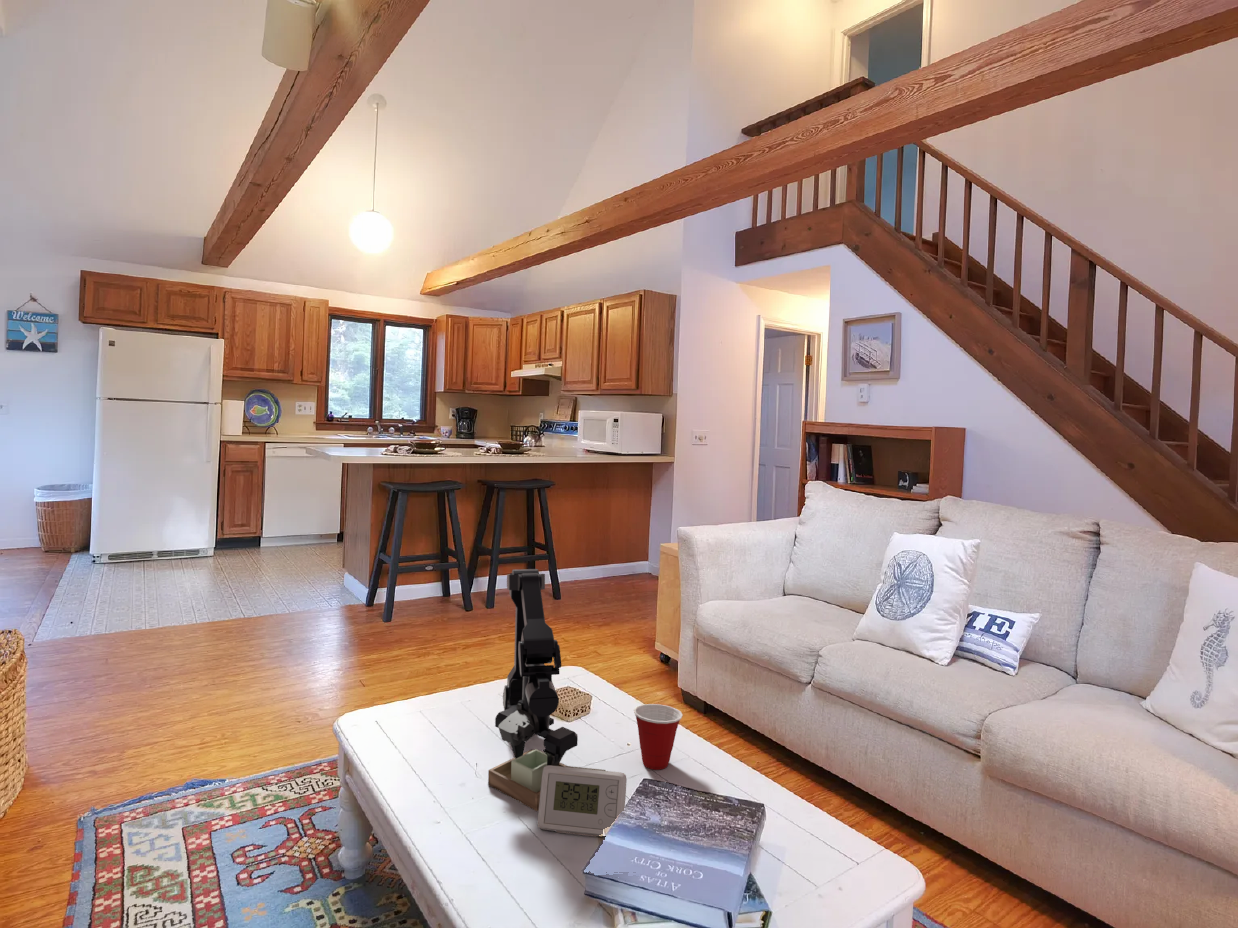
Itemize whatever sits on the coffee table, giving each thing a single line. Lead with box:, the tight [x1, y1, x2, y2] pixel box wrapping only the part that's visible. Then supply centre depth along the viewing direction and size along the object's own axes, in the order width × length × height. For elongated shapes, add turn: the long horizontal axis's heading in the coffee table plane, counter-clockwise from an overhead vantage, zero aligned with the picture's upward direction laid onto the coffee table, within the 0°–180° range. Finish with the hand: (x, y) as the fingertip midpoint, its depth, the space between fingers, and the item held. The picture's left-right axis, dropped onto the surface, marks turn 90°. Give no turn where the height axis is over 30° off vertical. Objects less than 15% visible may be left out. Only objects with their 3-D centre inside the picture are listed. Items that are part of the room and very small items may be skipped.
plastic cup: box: [633, 703, 684, 771], centre depth 155 cm, size 11×11×12 cm
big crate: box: [487, 749, 567, 812], centre depth 143 cm, size 12×14×3 cm
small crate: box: [511, 748, 547, 793], centre depth 143 cm, size 7×6×5 cm
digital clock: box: [537, 765, 628, 837], centre depth 130 cm, size 16×9×11 cm, turn 72°
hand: (534, 769), depth 143 cm, fingers open, 9 cm apart
